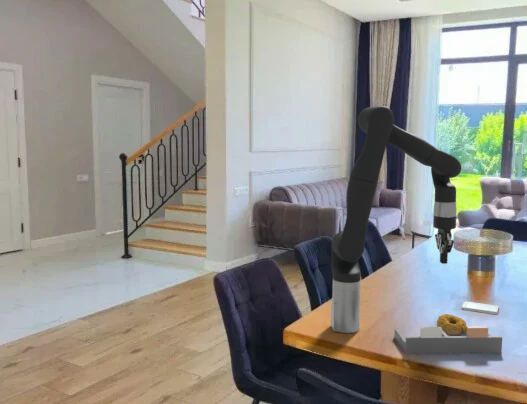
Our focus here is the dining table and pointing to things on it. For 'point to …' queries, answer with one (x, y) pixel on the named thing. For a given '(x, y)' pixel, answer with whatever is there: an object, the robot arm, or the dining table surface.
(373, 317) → the dining table surface
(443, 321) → the bagel
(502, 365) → the dining table surface
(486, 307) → the hard drive
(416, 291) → the dining table surface
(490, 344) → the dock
